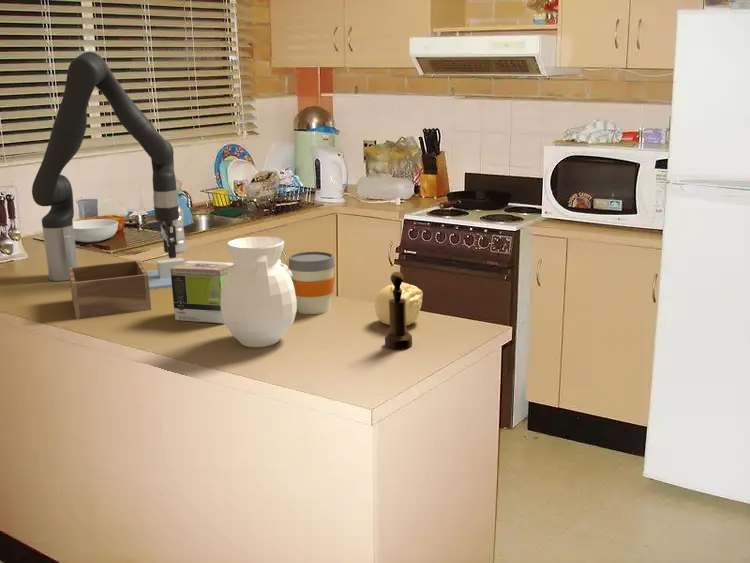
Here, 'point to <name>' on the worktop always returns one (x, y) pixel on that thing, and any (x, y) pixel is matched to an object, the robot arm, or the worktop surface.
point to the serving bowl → (94, 230)
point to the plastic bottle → (180, 232)
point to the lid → (162, 273)
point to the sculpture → (408, 293)
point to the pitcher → (258, 292)
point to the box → (109, 289)
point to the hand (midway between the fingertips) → (170, 255)
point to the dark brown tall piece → (397, 317)
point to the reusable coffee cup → (312, 281)
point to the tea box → (198, 290)
